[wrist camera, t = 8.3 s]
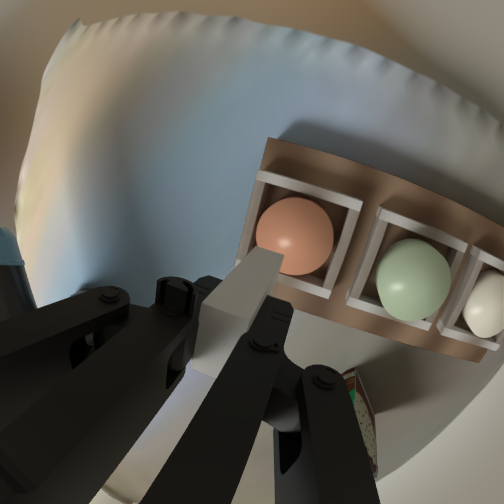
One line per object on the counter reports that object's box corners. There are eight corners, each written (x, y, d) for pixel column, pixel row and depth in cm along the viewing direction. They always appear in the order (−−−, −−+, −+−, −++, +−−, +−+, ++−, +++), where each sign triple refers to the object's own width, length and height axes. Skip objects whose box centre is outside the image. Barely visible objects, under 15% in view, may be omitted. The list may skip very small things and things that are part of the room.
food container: (302, 372, 31) (286, 436, 22) (351, 357, 29) (351, 423, 20) (334, 431, 33) (327, 488, 24) (376, 420, 31) (377, 479, 21)
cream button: (450, 318, 22) (458, 330, 20) (477, 261, 20) (488, 270, 17) (489, 330, 21) (498, 342, 18) (514, 279, 19) (526, 288, 16)
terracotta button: (255, 253, 25) (248, 261, 23) (273, 187, 23) (266, 189, 21) (320, 274, 24) (319, 284, 22) (342, 208, 22) (343, 212, 20)
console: (240, 275, 30) (224, 293, 25) (275, 140, 25) (262, 134, 21) (470, 348, 25) (484, 372, 20) (521, 240, 20) (545, 252, 15)
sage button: (364, 295, 22) (366, 308, 20) (390, 228, 20) (397, 234, 18) (423, 315, 21) (430, 329, 19) (451, 252, 19) (462, 261, 17)
